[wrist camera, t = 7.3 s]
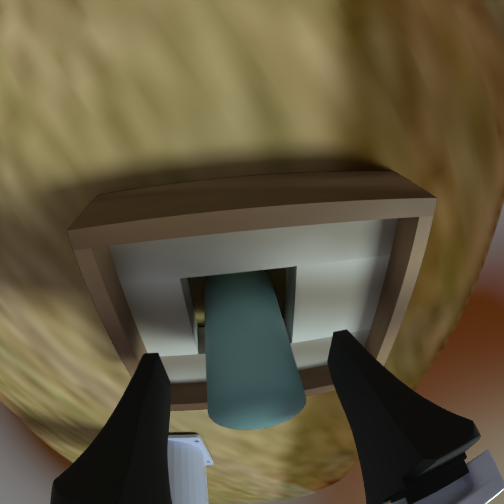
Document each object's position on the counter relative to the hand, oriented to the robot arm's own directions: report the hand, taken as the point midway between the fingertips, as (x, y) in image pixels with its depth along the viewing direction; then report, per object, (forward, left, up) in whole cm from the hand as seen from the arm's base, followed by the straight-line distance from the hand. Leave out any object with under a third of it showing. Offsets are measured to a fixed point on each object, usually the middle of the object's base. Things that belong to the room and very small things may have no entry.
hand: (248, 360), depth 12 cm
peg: (0, 0, -5) cm, 5 cm away
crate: (0, -1, -5) cm, 5 cm away
